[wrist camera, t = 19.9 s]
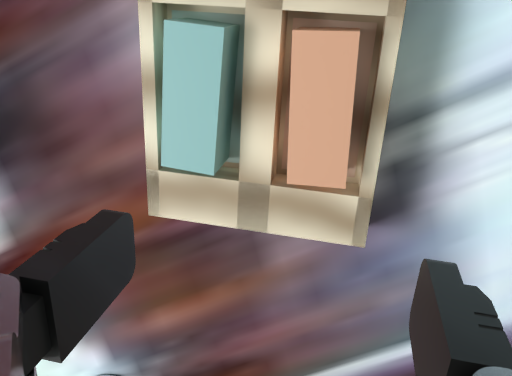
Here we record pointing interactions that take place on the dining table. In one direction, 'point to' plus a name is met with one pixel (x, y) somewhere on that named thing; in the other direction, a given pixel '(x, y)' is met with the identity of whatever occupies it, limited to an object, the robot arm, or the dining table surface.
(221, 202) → the slot rack
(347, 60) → the block
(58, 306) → the robot arm
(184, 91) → the batten teal
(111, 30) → the dining table surface
